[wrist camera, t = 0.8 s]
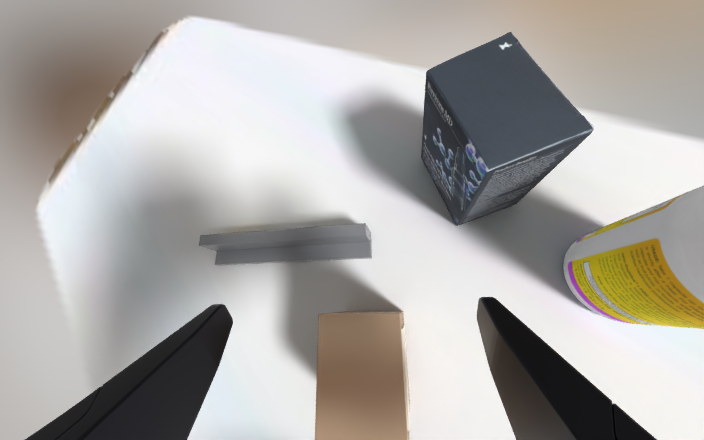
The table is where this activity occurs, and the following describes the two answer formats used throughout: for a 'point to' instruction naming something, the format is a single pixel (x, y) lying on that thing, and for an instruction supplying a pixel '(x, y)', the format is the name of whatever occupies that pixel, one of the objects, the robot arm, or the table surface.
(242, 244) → the rail
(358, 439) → the tea box
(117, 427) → the robot arm
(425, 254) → the table surface
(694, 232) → the supplement bottle
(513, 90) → the box
